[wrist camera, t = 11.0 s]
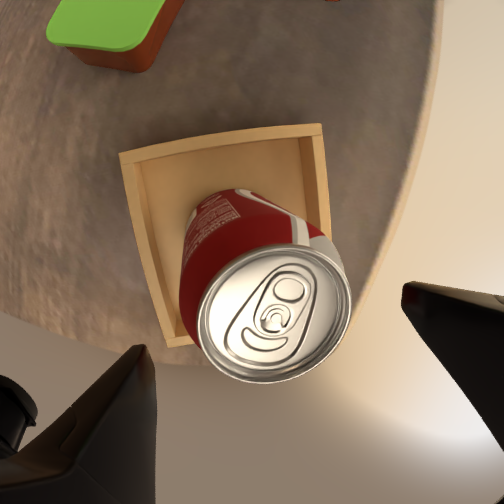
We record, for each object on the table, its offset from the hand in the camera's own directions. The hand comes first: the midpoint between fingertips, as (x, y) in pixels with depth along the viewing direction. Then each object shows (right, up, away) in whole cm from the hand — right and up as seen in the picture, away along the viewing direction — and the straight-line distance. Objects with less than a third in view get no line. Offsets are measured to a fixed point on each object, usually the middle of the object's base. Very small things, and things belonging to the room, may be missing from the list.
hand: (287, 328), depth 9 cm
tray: (-3, +4, +12) cm, 13 cm away
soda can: (-3, +4, +12) cm, 13 cm away
